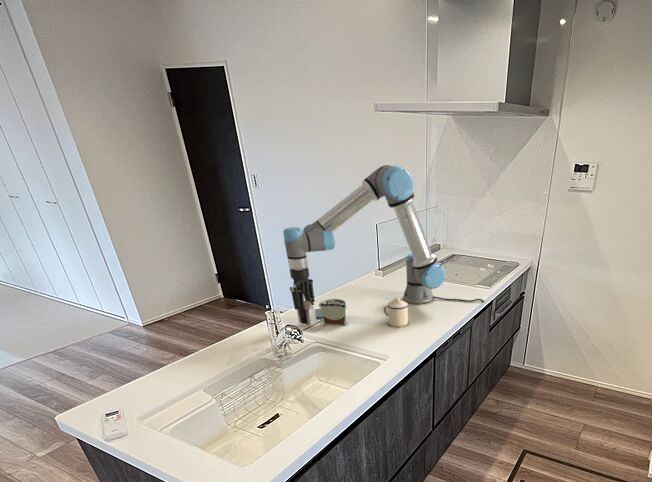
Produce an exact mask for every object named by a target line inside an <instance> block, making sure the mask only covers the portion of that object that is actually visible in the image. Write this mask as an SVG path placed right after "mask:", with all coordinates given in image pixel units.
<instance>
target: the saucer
mask: <svg viewBox="0 0 652 482" xmlns="http://www.w3.org/2000/svg"><path fill="white" fill-rule="evenodd" d="M314 309H315V308H314ZM315 315H316V320H319V319H323V316H322V311H321V308H316V309H315Z"/></svg>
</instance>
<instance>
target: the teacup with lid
mask: <svg viewBox="0 0 652 482" xmlns="http://www.w3.org/2000/svg"><path fill="white" fill-rule="evenodd" d="M408 307H409V304H408V302H406V301H404V300H402V299H400V297H395V298H394V299H393V300H391V301H388V303H387V305H385V306H384V307H383V313H384V315H385V316H386V317H388V324H389V325H390V326H391V327H395V328H396V327H397V328H399V327H405V326H407V325H408V323H409V316H408V315H409V313H408Z"/></svg>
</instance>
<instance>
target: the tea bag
mask: <svg viewBox="0 0 652 482" xmlns="http://www.w3.org/2000/svg"><path fill="white" fill-rule="evenodd" d="M304 309H305V310H306V316H307V322H308V324H306V326H313V325H315V324H317V323H318V320H317V319H316V315H315V308H314V305H312V304H311V302H308V301H305V300H304ZM296 311H297V312H296V313H297V318H298V323H299V324H302V325H304V324H303V323H301V318H300V314H299V310H296Z"/></svg>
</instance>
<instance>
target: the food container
mask: <svg viewBox="0 0 652 482" xmlns="http://www.w3.org/2000/svg"><path fill="white" fill-rule="evenodd" d="M318 307H319V308H320V309H321V311H322V316H323V318H322V319H323V320H322V321H323V323H324V325H329V326H346V322H347V321H346V319H347V318H346V309H347V308H348V305H347V303H346V301H345V300H344V299H339V298H329V299H328V298H327V299H324V300H321V301H320V302H319V303H318Z"/></svg>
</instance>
